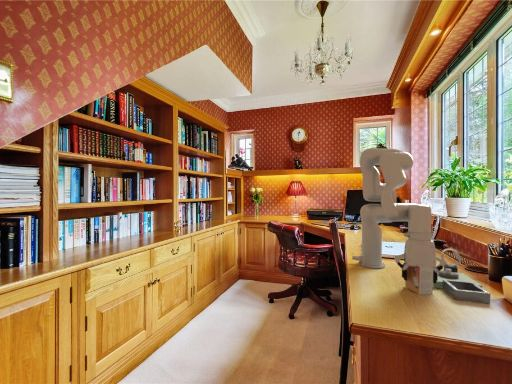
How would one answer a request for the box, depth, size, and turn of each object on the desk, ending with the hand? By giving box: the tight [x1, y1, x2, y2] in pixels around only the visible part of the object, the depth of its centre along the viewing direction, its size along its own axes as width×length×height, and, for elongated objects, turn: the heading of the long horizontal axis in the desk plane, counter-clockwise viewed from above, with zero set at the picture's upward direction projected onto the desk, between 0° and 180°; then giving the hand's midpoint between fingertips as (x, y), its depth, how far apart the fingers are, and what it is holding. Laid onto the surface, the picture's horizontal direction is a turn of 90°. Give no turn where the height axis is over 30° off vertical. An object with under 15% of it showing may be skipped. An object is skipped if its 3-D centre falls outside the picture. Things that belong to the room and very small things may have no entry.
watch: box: [440, 248, 462, 273], centre depth 126 cm, size 6×8×11 cm
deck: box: [433, 268, 483, 289], centre depth 111 cm, size 16×16×6 cm
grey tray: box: [442, 279, 491, 305], centre depth 97 cm, size 10×12×4 cm
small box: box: [404, 265, 434, 296], centre depth 102 cm, size 8×6×10 cm
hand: (419, 281), depth 101 cm, fingers open, 9 cm apart
